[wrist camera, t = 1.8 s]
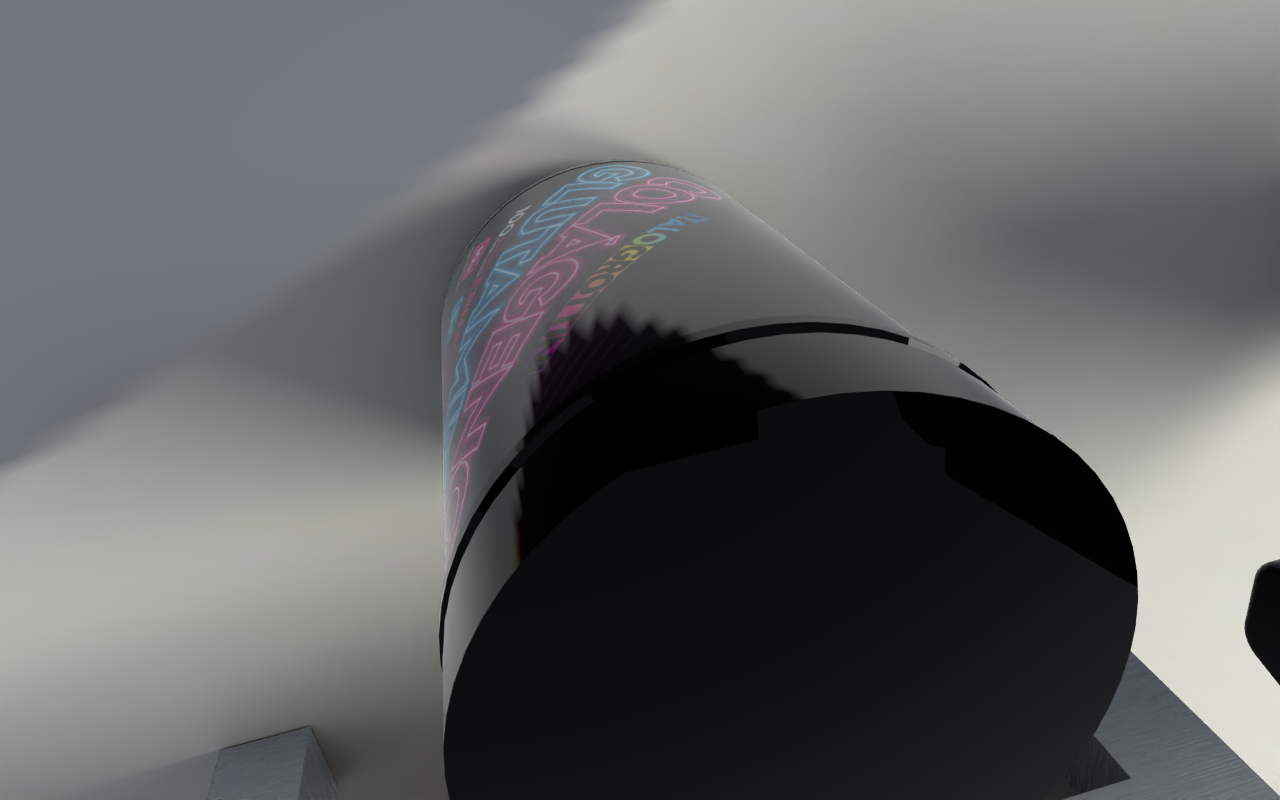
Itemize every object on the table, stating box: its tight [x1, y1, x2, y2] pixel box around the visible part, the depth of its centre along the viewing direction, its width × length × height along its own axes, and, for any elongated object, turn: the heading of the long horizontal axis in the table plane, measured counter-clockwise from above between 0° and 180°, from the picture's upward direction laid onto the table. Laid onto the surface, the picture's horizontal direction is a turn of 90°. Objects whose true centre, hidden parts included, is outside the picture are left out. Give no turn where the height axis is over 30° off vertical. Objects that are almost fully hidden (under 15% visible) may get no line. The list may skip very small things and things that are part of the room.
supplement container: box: [439, 160, 1138, 800], centre depth 13 cm, size 7×7×10 cm
